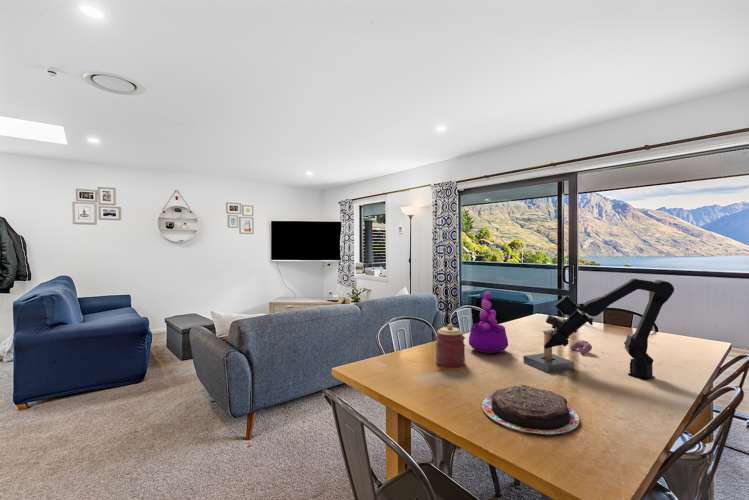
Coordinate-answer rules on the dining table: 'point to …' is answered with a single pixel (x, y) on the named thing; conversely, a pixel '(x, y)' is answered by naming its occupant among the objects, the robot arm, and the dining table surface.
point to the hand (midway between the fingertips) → (544, 346)
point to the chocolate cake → (530, 410)
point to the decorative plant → (488, 330)
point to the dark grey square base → (548, 363)
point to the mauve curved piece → (582, 347)
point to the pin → (546, 338)
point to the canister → (450, 347)
